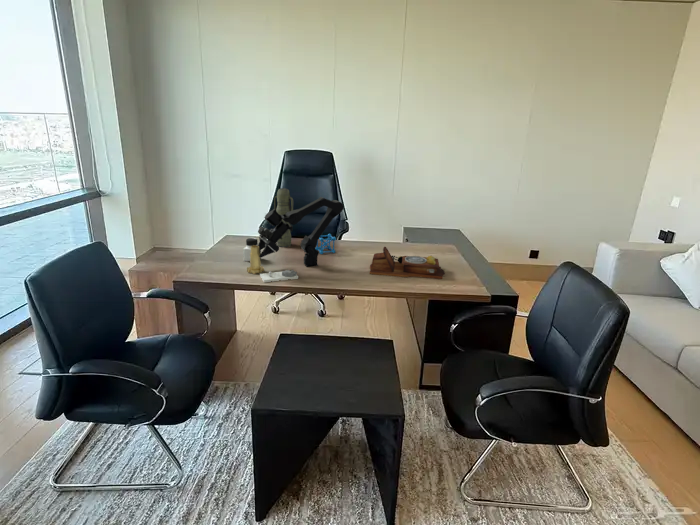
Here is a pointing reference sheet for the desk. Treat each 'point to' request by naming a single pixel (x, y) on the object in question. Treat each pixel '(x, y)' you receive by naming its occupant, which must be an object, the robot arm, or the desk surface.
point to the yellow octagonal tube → (255, 261)
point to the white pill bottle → (249, 248)
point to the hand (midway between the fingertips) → (257, 254)
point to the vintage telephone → (405, 266)
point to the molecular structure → (326, 244)
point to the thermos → (281, 209)
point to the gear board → (279, 276)
